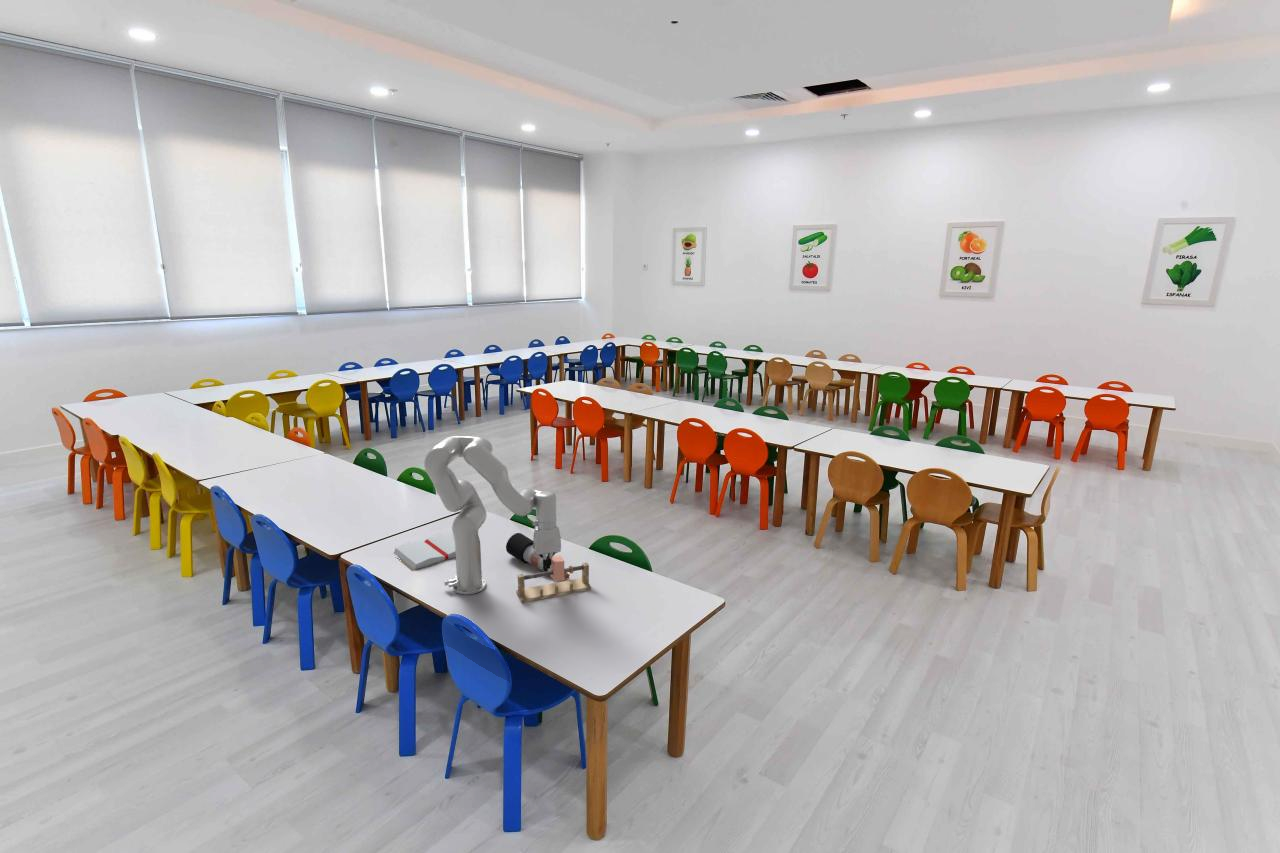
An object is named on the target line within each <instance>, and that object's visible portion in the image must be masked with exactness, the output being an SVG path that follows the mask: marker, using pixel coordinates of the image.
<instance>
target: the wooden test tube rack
mask: <svg viewBox="0 0 1280 853" xmlns="http://www.w3.org/2000/svg"><path fill="white" fill-rule="evenodd" d="M577 571H581V577H580V578H573V579H569V580H568V579H567V580H562V581H556V582H553V583H548V584H542V585H535V586H532V587H531V586H530V587H526V586H525V580H526V581H527V580H532V579H536V578H542V577H547V576H551V575H553V571H548V572H545V571H542V572H537V573H532V574H527V575H525V574H523V573H518V574H517V589H516V591H515V592H516V595H517V596H518V599H519V601H520V603H527V602H533V601H537V600H541V599H548V598H549V599H550V598H553V597H559V596H563V595H569V594H574V593H579V592H584V591H591V590H592V586H591V584H590V578H589V577H590V565H589V563H588V562H582V563H581V565H577V566H573V565H569V566H568V567H566V568H565V567H564V573H569V575H571V574H574V572H577Z"/></svg>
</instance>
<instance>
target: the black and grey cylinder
mask: <svg viewBox="0 0 1280 853" xmlns="http://www.w3.org/2000/svg"><path fill="white" fill-rule="evenodd" d="M505 545H506V546H505V550H506V552H507V554H509V555H510V556H512V557H513V558H515V559H517V560H518V561H520V562H521V563H522V564H527V565H528V564H531V565H532V566H533V567H535V568H537V569H539V570H542V572H548V571H551V565H550V569H546V568H545V567H544V566H543V558H541V557H540V556H534V555H533V551H534V549H533V539H531V538H529V537H527V535H525V534H523V533H521V532H516V533H514V534H512V535H511V536H510V537H509V538H508V539H507V542H506V544H505ZM547 555H548V553H547V554H546V557H547ZM570 575H571V574H570V573H569V572H566V573H564V579H566V580H568V579H569V578H570Z"/></svg>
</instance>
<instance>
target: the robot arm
mask: <svg viewBox="0 0 1280 853" xmlns="http://www.w3.org/2000/svg"><path fill="white" fill-rule="evenodd" d="M492 453H493V444H492V443H491V441H489V440H488V439H487V438H484V437H481V436H479V437H477V436H458V435H453V436H452V435H451V436H448V437H445V438H444V439H443V440H441V441H440V442H439V443H436V445H434V446H433V447H432V448H431V449H430V450H429V451H428V452H427V454H426V456H425V459H424V465H423V466H424V469H425V471H426V474H427V476H428V477H429V479H430V481H431V483H432V485H433V487H434V489H435V491H436V493H437V495H438V496H439V498H440V500H441V502H442V505H443V506H444V508H445V509H446V510H447V511H448V512H453V513H456V512H459V511H460V512H459V513H458V514H457V516H455V518H454V520H453V522H452V526H451V531H452V534H453V536H454V541H455V553H456V558H455V569H456V571H455V575H454V578H451V579H446V580H443V582H444V586H448V588H453V592H455V593H456V594H459V595H474V594H477V593H480V592H482V591H483V590H484V589H486V586H487V581H486V580H485V579H483V578H482V577H483V576H482V554H481V553H482V550H481V540H480V537H479V535H480V534H479V530H480V528H481V527H482V526H483V524H484V523H485V522H486V520H487V510H486V507H485V505H484V504H483V502H482V500H481V497H480V495H479V494H478V491H477V490H476V488H475V487H474V485H473V484H472V483H471V482H469V481H468V480H466V479H457V476H456V475H455V473H454V472H453V470H452V468H450V467H449V465H450V464H452V462H454V461H455V460H457V459H458V458H463V460H464V461H465V462H466V464H467V465H469V466H470V467H471V468H472V469H473V470H474V471H476V472H477V473H478V474H479V475H480V476H481V477H482V478H483V479H484V480H486V482H487V483H489V484H490V486H491V488H492V490H493V492H494V493H495V495H496V497H497V499H498V500H499V501H500V502H501V504H502V505H503V506H505V508H507V509H508V510H509V511H511V513H513V514H514V515H516V516H518V517H525V516H528V515H529V514H531V512H532V511H533V509H535V511H536V512H535V513H536V516H535V517H536V519H535V521H534V522H532V526H533V527H534V531H533V535H532V536H533V539H532V540H533V549H534V551H533V555H534V556H540V557H541V558H543V566H544V567H545V568H546V569H550V565H551V559H552V558H553V557H555V556H554V555H556V554H558V553H560V552H561V551H562V540H561V539H562V538H561V530H560V527H559V525H558V524H557V495H556V492H554V491H552V490H539V489H534V488H529V487H528V488H524V489H522V490H521V491H520V492H519V491H517V489H516V488H514V486H513V484H512V483H511V480H510V479H509V472H508V468H507V466H506V465H505V464H503V463H502V462H501V461H500V460H499V459H498V458H497V457H496V456H495V455H493V454H492ZM546 554H548V555H547V557H546Z"/></svg>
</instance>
